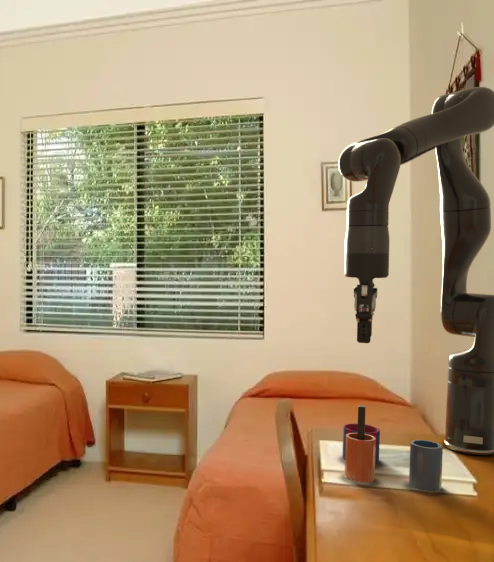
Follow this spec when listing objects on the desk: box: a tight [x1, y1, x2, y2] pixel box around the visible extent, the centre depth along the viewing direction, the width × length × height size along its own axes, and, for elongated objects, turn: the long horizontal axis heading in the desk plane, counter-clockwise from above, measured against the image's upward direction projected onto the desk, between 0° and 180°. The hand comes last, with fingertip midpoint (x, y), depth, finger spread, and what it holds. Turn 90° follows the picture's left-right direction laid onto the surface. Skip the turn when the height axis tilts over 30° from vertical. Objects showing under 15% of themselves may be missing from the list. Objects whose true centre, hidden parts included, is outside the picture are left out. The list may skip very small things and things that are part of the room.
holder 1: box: [344, 433, 376, 483], centre depth 108 cm, size 5×5×8 cm
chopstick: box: [357, 404, 367, 440], centre depth 108 cm, size 1×1×13 cm
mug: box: [342, 422, 381, 465], centre depth 117 cm, size 7×10×7 cm
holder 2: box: [408, 439, 444, 493], centre depth 104 cm, size 5×5×8 cm
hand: (364, 339), depth 109 cm, fingers open, 8 cm apart
